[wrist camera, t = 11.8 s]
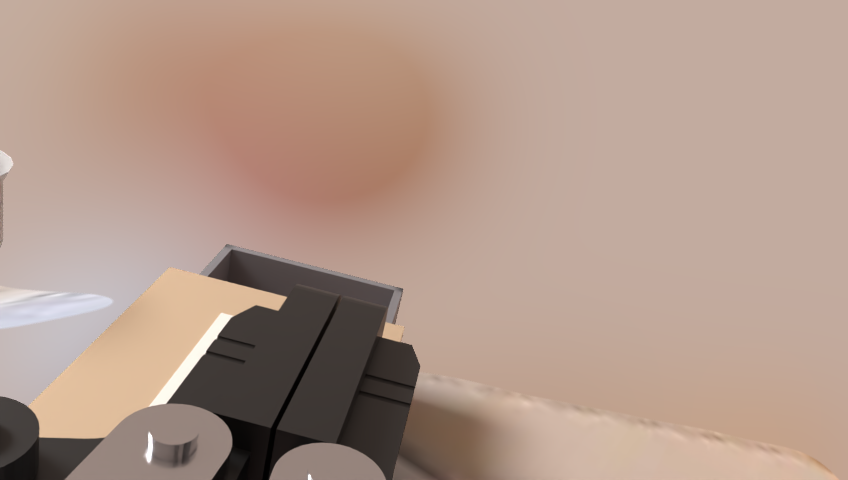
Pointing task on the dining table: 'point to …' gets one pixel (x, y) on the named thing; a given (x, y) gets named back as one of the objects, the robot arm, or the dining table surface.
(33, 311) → the dining table surface
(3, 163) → the chalice
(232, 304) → the mailer sleeve
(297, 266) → the tray
